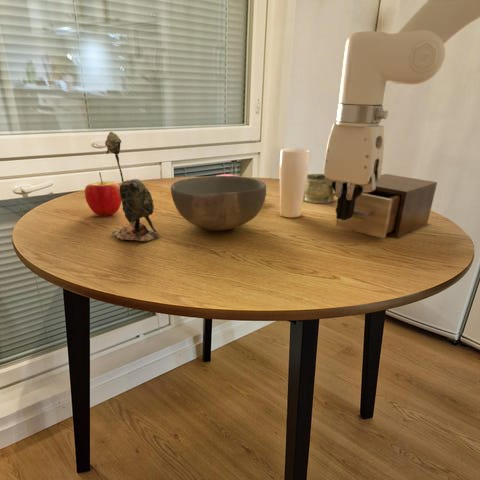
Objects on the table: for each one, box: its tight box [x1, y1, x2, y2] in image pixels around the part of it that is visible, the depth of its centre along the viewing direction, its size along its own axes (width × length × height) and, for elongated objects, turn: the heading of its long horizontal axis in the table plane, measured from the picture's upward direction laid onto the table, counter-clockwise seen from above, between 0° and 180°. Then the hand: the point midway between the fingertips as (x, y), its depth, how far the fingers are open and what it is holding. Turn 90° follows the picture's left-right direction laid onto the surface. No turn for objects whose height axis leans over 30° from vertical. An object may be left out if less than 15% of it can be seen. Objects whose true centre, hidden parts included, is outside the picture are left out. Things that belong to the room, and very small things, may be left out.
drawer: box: [335, 190, 402, 239], centre depth 91 cm, size 18×11×8 cm, turn 135°
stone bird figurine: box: [104, 131, 159, 242], centre depth 82 cm, size 8×11×20 cm
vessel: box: [303, 173, 336, 204], centre depth 117 cm, size 12×9×6 cm
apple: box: [84, 172, 122, 217], centre depth 99 cm, size 8×8×10 cm
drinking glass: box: [278, 147, 311, 219], centre depth 100 cm, size 7×7×15 cm
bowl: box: [170, 175, 267, 232], centre depth 92 cm, size 20×20×10 cm
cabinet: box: [365, 173, 438, 239], centre depth 96 cm, size 15×13×10 cm
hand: (344, 218), depth 84 cm, fingers closed
